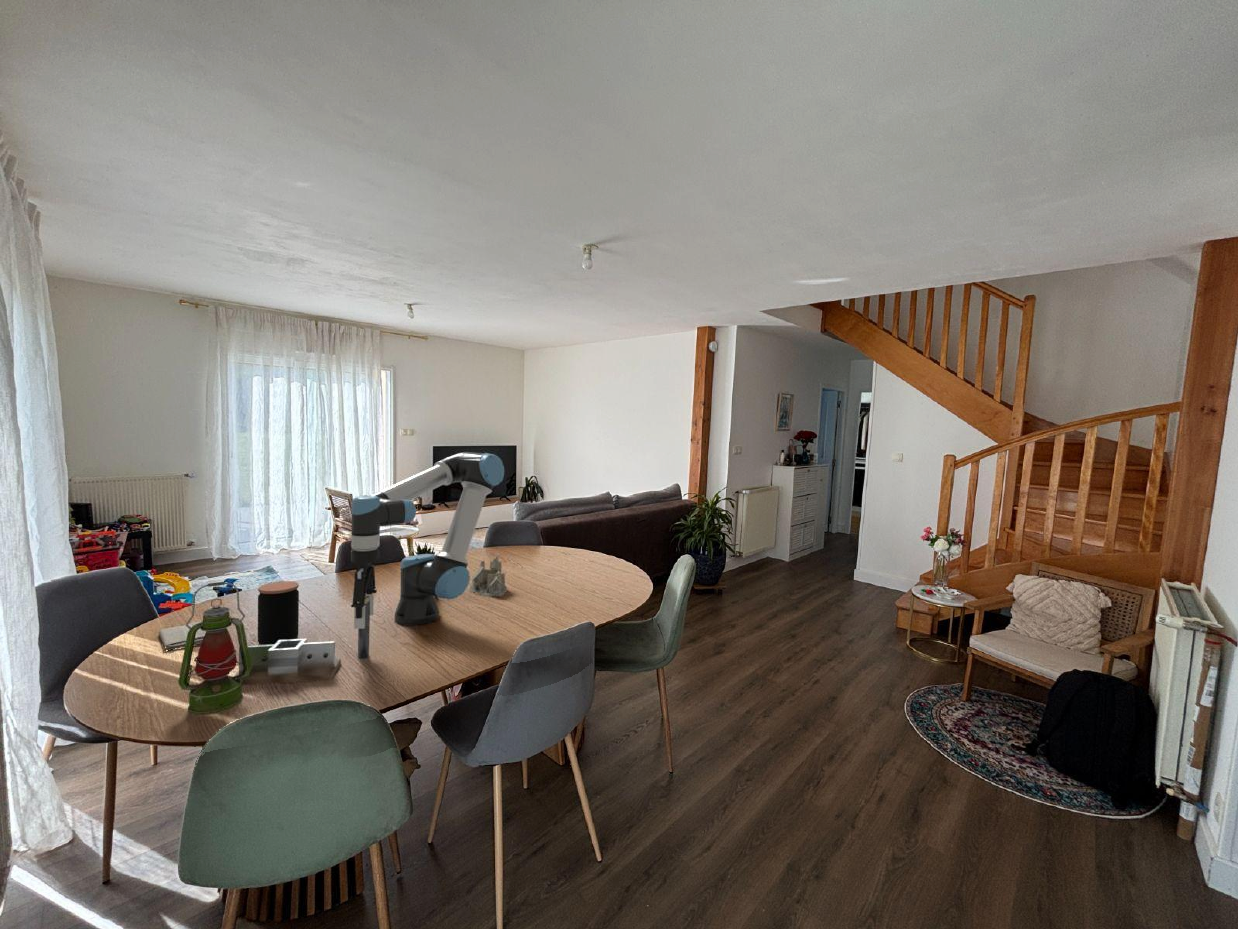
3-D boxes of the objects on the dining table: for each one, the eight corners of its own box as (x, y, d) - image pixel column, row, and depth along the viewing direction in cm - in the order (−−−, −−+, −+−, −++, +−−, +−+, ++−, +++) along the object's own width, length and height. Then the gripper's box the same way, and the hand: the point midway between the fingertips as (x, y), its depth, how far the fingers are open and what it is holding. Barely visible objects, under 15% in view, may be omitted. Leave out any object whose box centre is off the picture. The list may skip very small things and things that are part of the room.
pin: (370, 654, 153) (371, 596, 152) (367, 658, 150) (368, 599, 149) (359, 654, 152) (360, 596, 151) (356, 658, 149) (357, 599, 148)
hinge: (337, 660, 144) (338, 637, 144) (330, 672, 137) (330, 647, 137) (245, 666, 138) (245, 641, 138) (233, 678, 132) (233, 652, 131)
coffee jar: (306, 638, 162) (306, 583, 161) (274, 651, 152) (274, 592, 151) (282, 633, 165) (282, 579, 164) (249, 645, 155) (249, 588, 154)
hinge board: (340, 664, 145) (340, 659, 145) (331, 679, 137) (331, 673, 137) (245, 670, 139) (245, 665, 139) (229, 686, 131) (229, 680, 131)
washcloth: (165, 654, 148) (165, 644, 148) (157, 636, 160) (156, 627, 160) (216, 643, 157) (216, 633, 157) (204, 627, 169) (204, 618, 168)
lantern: (177, 723, 114) (176, 593, 112) (179, 702, 122) (179, 581, 120) (252, 704, 123) (253, 584, 121) (250, 686, 131) (250, 573, 129)
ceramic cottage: (471, 585, 225) (473, 553, 223) (508, 587, 227) (510, 555, 225) (465, 598, 210) (467, 564, 208) (505, 600, 212) (507, 566, 210)
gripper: (361, 540, 159) (359, 609, 160) (340, 557, 137) (339, 637, 139) (386, 540, 161) (385, 608, 162) (370, 557, 139) (368, 635, 140)
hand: (364, 621), depth 150 cm, fingers open, 10 cm apart
